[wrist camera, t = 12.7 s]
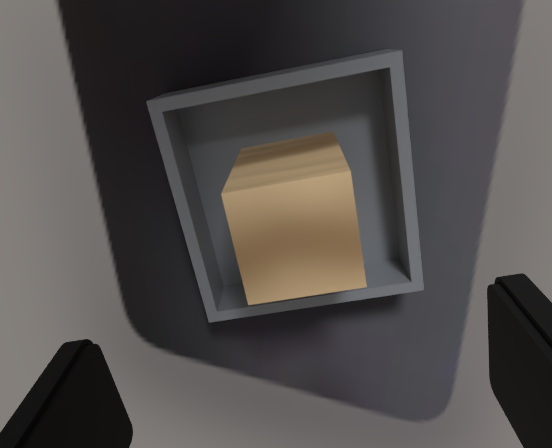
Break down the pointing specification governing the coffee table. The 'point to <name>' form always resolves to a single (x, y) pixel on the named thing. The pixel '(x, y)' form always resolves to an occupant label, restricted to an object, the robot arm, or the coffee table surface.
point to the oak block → (294, 219)
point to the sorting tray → (283, 126)
